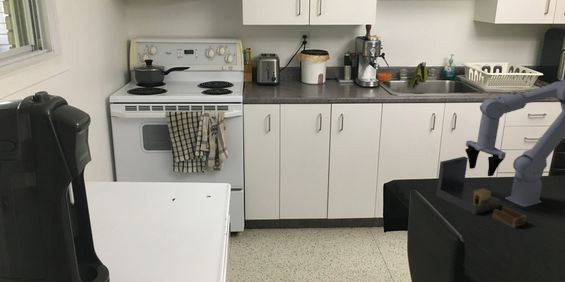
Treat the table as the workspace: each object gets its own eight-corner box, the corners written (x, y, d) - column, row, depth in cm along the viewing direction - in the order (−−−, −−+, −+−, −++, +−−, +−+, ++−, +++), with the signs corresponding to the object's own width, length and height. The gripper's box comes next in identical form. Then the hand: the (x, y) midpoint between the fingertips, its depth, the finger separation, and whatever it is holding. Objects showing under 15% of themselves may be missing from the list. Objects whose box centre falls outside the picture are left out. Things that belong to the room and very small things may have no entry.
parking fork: (503, 214, 160) (504, 206, 159) (525, 224, 154) (526, 216, 153) (492, 217, 158) (493, 209, 157) (514, 228, 151) (515, 219, 150)
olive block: (480, 204, 167) (483, 188, 165) (488, 207, 164) (491, 191, 162) (471, 206, 165) (474, 190, 163) (479, 210, 162) (482, 194, 160)
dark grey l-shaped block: (459, 189, 179) (464, 156, 175) (499, 207, 165) (505, 172, 161) (436, 195, 173) (440, 161, 169) (475, 215, 159) (480, 178, 155)
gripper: (462, 130, 168) (456, 166, 172) (498, 142, 156) (491, 181, 160) (476, 127, 171) (470, 163, 175) (512, 139, 159) (505, 177, 163)
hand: (481, 171), depth 168 cm, fingers open, 7 cm apart
